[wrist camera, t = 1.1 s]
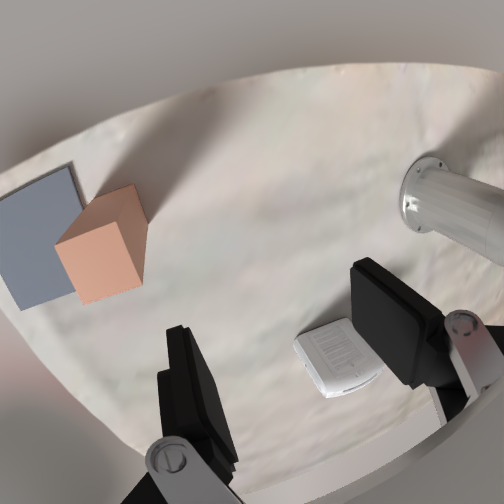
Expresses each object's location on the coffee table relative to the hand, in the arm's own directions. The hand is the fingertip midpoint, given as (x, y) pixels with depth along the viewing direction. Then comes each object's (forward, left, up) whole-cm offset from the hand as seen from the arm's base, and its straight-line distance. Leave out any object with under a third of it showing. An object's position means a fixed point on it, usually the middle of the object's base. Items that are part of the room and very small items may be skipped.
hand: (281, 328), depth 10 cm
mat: (+21, 0, -26) cm, 33 cm away
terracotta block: (+9, 0, -26) cm, 27 cm away
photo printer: (-12, +28, -26) cm, 40 cm away
